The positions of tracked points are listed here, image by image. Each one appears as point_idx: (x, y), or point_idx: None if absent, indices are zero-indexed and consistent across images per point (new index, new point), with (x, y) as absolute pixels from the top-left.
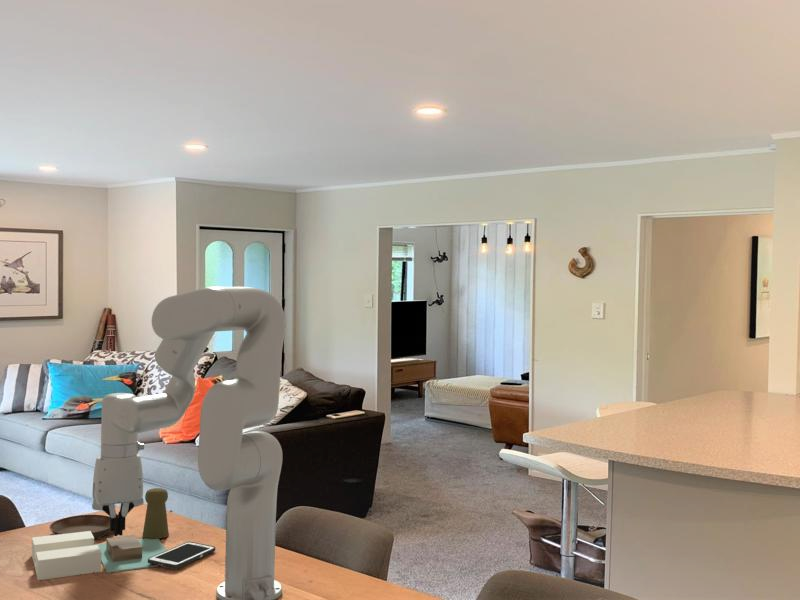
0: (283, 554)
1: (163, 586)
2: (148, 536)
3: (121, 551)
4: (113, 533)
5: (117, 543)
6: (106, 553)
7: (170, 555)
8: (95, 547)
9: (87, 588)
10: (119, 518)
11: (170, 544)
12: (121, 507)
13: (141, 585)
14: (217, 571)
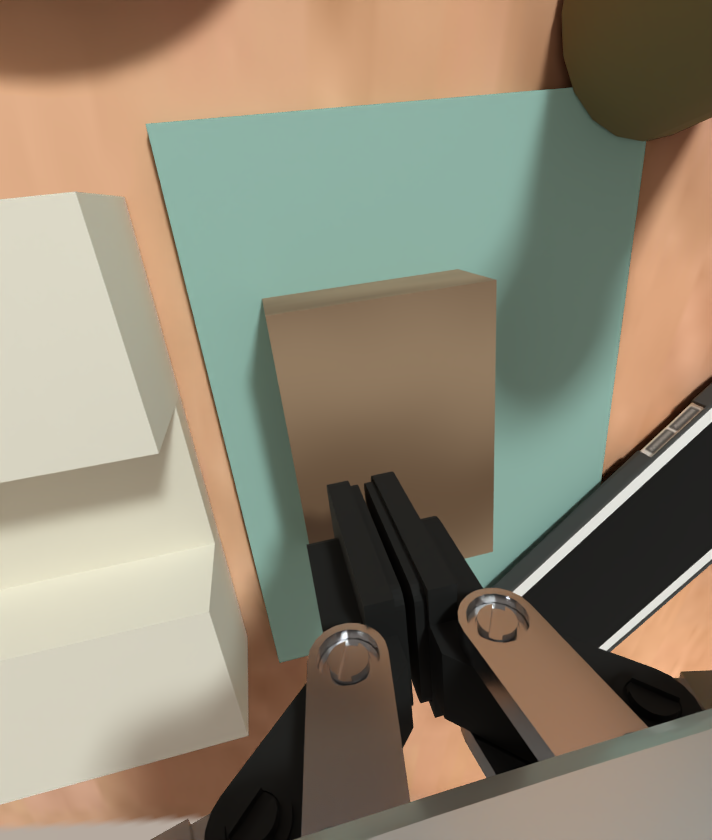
0: None
1: (476, 763)
2: (599, 104)
3: None
4: (333, 529)
5: (350, 466)
6: (266, 389)
7: (591, 575)
8: (199, 659)
9: (202, 783)
10: (423, 699)
11: (668, 271)
12: (508, 701)
13: (407, 758)
14: (679, 659)
